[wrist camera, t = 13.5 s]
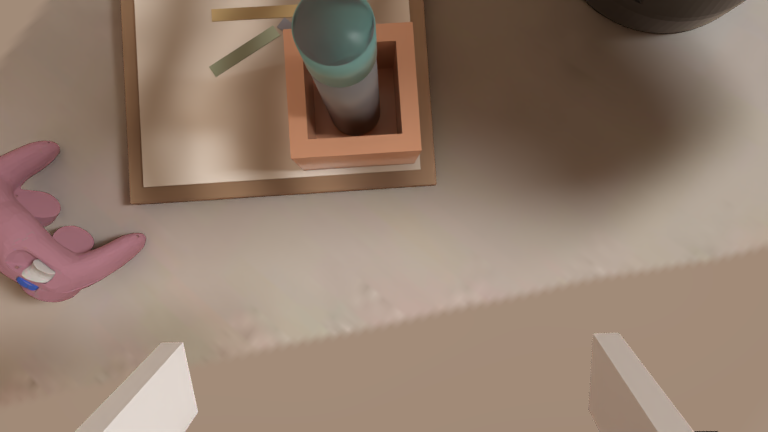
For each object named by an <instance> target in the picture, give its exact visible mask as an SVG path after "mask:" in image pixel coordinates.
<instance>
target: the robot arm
mask: <svg viewBox="0 0 768 432" xmlns="http://www.w3.org/2000/svg"><path fill="white" fill-rule="evenodd" d="M585 1H586V2H587V3H588V4H589V5H591V6H592V7H593V8H594V9H595V10H597V11H598V12H599V13H601V14H602V15H604V16H605V17H607V18H609V19H611V20H612V21H614V22H616V23H619V24H621V25H623V26H626V27H629V28H632V29H636V30H640V31H645V32H652V33H676V32H682V31H687V30H691V29H695V28H698V27H701V26H703V25H706V24H708V23H710V22H712V21H714V20H716V19H717V18H719V17H721V16H722V15H724V14H725V13H727V12H729V11H730V10H732V9H733V8H735V7H737V6H738V5H740V4H741V3H743V2H744V1H746V0H585ZM589 411H590V413H591V416H592V417H593V419H594V421H595V424H596V426H597V428H598V430H599V432H696V431H693V429H692V428H691V427H690V426H689V424H688V423H687V422H686V420H685V419H684V418H683V416H682V415H681V414H680V412H679V411H678V410H677V408H676V407H675V406H674V404H673V403H672V402H671V401H670V399H669V398H668V397H667V395H666V394H665V393H664V391H663V390H662V389H661V388H660V386H659V385H658V383H657V382H656V381H655V379H654V378H653V377H652V375H651V374H650V373H649V372H648V370H647V369H646V368H645V366H644V365H643V364H642V362H641V361H640V360H639V358H638V357H637V356H636V354H635V353H634V352H633V350H632V349H631V348H630V347H629V345H628V344H627V343H626V341H625V340H624V339H623V337H622V336H621V335H620V333H593V342H592V359H591V377H590V392H589ZM197 413H198V410H197V405H196V401H195V396H194V391H193V386H192V382H191V377H190V372H189V367H188V363H187V358H186V353H185V349H184V344H183V342H161V343H160V344H159V345H158V346H157V347H156V348H155V349H154V350H153V351H152V352H151V353H150V354H149V355H148V357H147V358H146V359H145V360H144V361H143V362H142V363H141V364H140V365H139V366H138V367H137V368H136V369H135V370H134V371H133V372H132V373H131V374H130V375H129V376H128V377H127V378H126V379H125V380H124V381H123V382H122V383H121V384H120V385H119V386H118V388H116V389H115V390H114V391H113V392H112V393H111V395H110V396H109V397H108V398H107V399H106V400H105V401H104V402H103V403H102V404H101V405H100V406H99V407H98V408H97V409H96V410H95V411H94V412H93V413H92V414H91V415H90V416H89V417H88V418H87V419H86V420H85V421H84V422H83V423H82V424H81V425H80V427H78V428H77V429H76V431H74V432H185V431H186V429H187V428H188V426H189V425H190V423H191V422H192V420H193V419H194V417H195V416H196V414H197ZM697 432H698V431H697ZM699 432H700V431H699ZM702 432H705V431H702ZM706 432H714V431H706ZM715 432H717V431H715Z"/></svg>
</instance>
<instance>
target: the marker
mask: <svg viewBox="0 0 768 432" xmlns="http://www.w3.org/2000/svg"><path fill="white" fill-rule="evenodd" d="M292 36H293V39H294V42H295V44H296V47H297V49H298V51H299V53H300V55H301V57H302V59H303V61H304V64H305V66H306V68H307V69H308V71H309V72H310V74H311V76H312V78H313V80H314V82H315V84H316V87H317V89H318V91H319V93H320V95H321V97H322V100H323V102H324V104H325V106H326V108H327V110H328V112H329V115H330V117H331V119H332V121H333V123H334V125H335V126H336V127H337V128H338V129H339V130H340V131H341V132H343V133H345V134H347V135H352V136H359V135H363V134H366V133H368V132H369V131H371V130H372V129H373V128H374V127H375V125H376V124H377V122H378V120H379V117H380V100H379V85H378V70H377V38H376V23H375V17H374V13H373V11H372V8H371V6H370V5H369V3H368V2H367V1H366V0H301V1H300V3H299V4H298V6H297V7H296V9H295V12H294V14H293V18H292Z"/></svg>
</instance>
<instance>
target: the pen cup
mask: <svg viewBox="0 0 768 432" xmlns="http://www.w3.org/2000/svg"><path fill="white" fill-rule="evenodd" d="M376 38H377V70H378V85H379V100H380V117H379V120H378V122H377V124H376V125H375V127H374V128H373V129H372V130H371V131H369V132H368V133H366V134H363V135H359V136H352V135H347V134H345V133H343V132H341V131H340V130H339V129H338V128H337V127H336V126H335V125H334V123H333V121H332V119H331V117H330V115H329V112H328V110H327V108H326V106H325V104H324V102H323V100H322V97H321V95H320V93H319V91H318V89H317V87H316V84H315V82H314V80H313V78H312V76H311V74H310V72H309V71H308V69H307V68H306V66H305V64H304V61H303V59H302V57H301V55H300V53H299V51H298V49H297V47H296V44H295V42H294V39H293V36H292V29H283V40H284V56H285V72H286V89H287V105H288V122H289V138H290V155H291V159H292V160H293V161H294V162H295V163H296V164H297V165H298V166H299V167H301V168H302V169H303V170H304V171H307V170H322V169H338V168H354V167H369V166H385V165H400V164H414V163H415V161H416V159H417V158H418V156H419V154H420V152H421V151H422V147H421V133H420V119H419V105H418V91H417V76H416V62H415V48H414V34H413V22H402V23H385V24H376Z"/></svg>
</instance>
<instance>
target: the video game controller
mask: <svg viewBox="0 0 768 432" xmlns="http://www.w3.org/2000/svg"><path fill="white" fill-rule="evenodd" d="M59 152H60V147H59V146H58V144H57V143H55V142H51V141H38V142H33V143H29V144H27V145H24V146H22V147H20V148H17V149H15V150H13V151H11V152H8V153H6V154H4V155H2V156H0V272H1V273H3V274H4V275H6V276H7V277H9V278H10V279H12V280H14V281H16V282H17V283H19V284H20V286H21V288H22V289H23V290H24V291H25V292H26V293H27V294H28V295H30V296H32V297H34V298H36V299H38V300H42V301H46V302H60V301H64V300H67V299H70V298H72V297H74V296H75V295H76V294H77V293H78V292H79V291H80V290H81V289H83V288H86V287H89V286H90V285H92V284H94V283H96V282H98V281H100V280H102V279H103V278H105V277H107V276H108V275H110V274H111V273H113V272H114V271H116V270H117V269H119V268H120V267H122V266H123V265H124V264H126V263H127V262H128V261H130V260H131V259H132V258H133V257H134V256H135V255H136V254H138V253H139V252H140V250H141V249H142V248H143V247H144V245H145V241H146V237H145V235H144V234H142V233H131V234H127V235H123V236H121V237H119V238H117V239H115V240H113V241H111V242H109V243H107V244H105V245H104V246H101V247H99V248H97V249H94V250H91V248H92V247H93V245H94V240H93V238H92V236H91V235H90V234H89V233H88V232H87V231H85V230H84V229H82V228H79V227H76V226H64V227H61V228H59V229H58V230H57V231H56V232H55V233H54V234H53V236H51V235H50V234H49V233H48V232H47V231H46V230H45V228H44V226H47V225H49V224H51V223H52V222H53V221H54V220H55V219H56V217H57V216H58V214H59V212H60V210H61V207H60V204H59V202H58V200H57V199H56V198H54V197H53V196H52V195H50V194H48V193H45V192H40V191H30V190H23V189H21V186H22V185H23V183H24V182H25V181H26V180H27V179H28V178H30V177H32V176H33V175H35V174H36V173H38V172H39V171H41V170H42V169H44V168H45V167H46V166H47V165H49V164H50V163H51V162H52V161H53V160H54V159H55V158H56V156H57V155H58V154H59Z"/></svg>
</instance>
